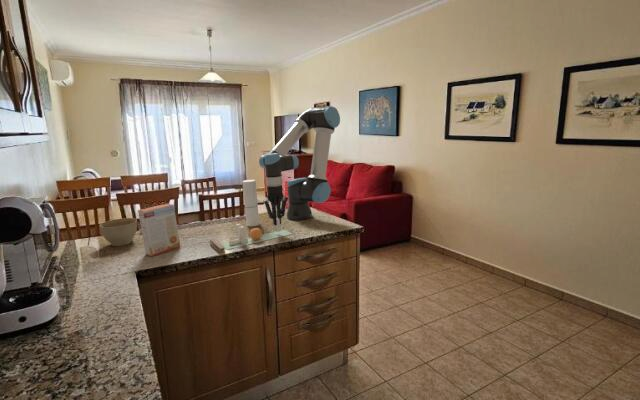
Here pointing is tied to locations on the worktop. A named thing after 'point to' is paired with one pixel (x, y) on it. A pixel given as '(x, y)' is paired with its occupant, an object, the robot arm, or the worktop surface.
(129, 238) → the planter bowl
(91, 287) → the worktop surface
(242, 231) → the pin back left
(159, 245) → the cracker box
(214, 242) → the backstop
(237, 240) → the pin front
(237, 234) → the pin back right
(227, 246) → the lane
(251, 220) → the cylindrical container
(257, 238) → the ball
